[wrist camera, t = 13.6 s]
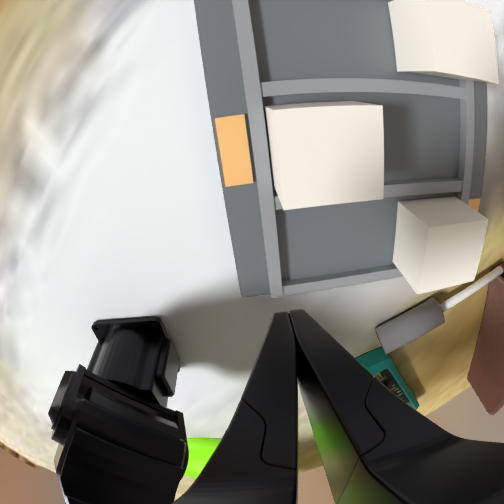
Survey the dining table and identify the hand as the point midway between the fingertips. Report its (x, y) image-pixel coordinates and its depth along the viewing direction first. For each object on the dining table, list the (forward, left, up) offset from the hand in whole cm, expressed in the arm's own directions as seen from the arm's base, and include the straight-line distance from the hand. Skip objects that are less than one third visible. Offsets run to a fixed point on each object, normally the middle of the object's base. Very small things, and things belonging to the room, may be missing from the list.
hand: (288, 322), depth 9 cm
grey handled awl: (+14, -11, -11) cm, 21 cm away
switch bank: (+7, +3, -12) cm, 14 cm away
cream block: (+3, +3, -11) cm, 12 cm away
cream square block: (+11, +10, -11) cm, 18 cm away
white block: (+11, -3, -11) cm, 16 cm away
